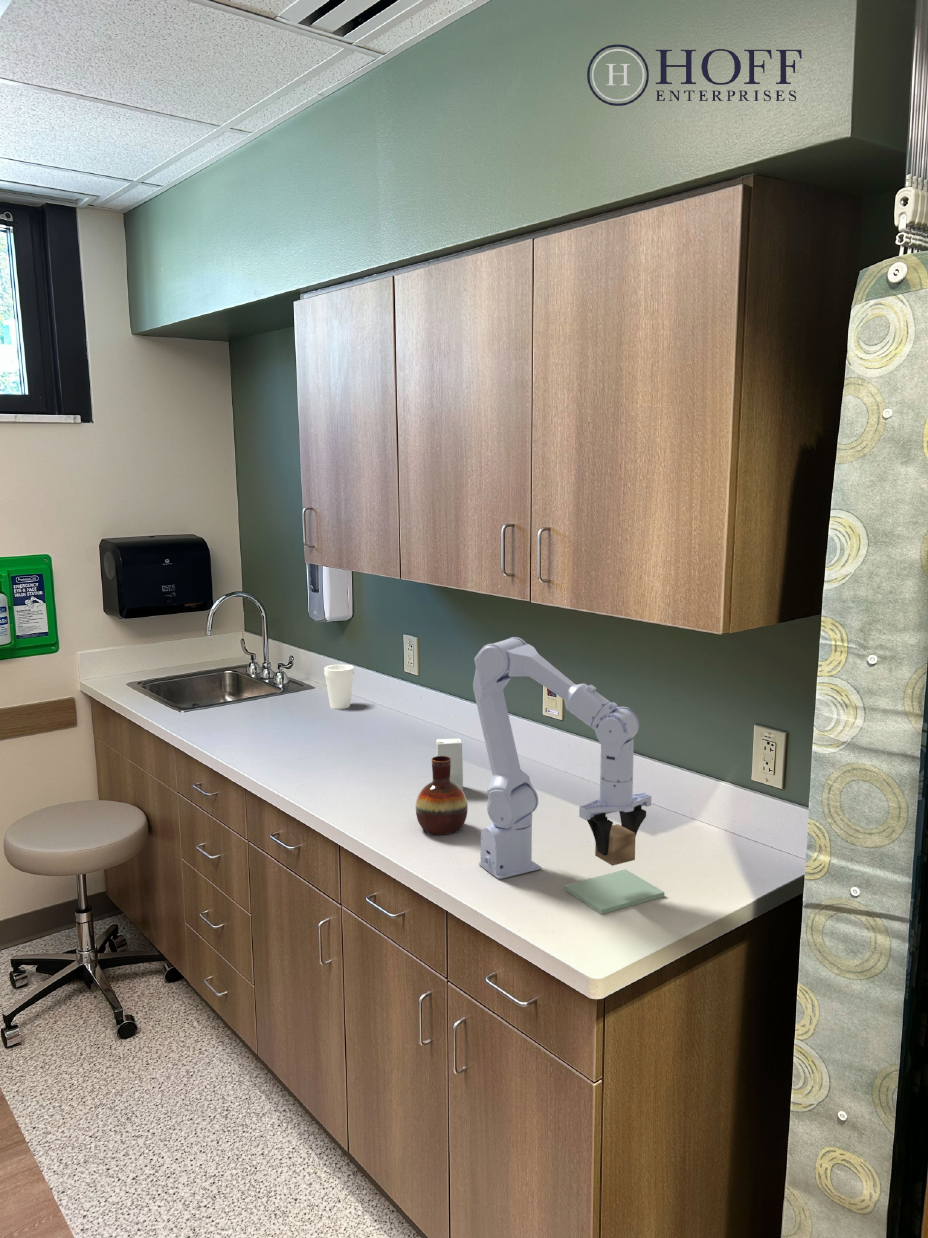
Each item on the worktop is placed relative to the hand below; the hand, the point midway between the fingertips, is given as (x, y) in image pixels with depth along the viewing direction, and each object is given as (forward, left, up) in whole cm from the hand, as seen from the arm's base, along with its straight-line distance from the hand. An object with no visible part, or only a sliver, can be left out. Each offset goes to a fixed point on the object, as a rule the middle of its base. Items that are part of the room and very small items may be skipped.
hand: (614, 850), depth 165 cm
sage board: (0, 0, -8) cm, 8 cm away
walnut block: (0, 0, -1) cm, 1 cm away
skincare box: (0, +64, -8) cm, 64 cm away
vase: (-13, +43, -8) cm, 45 cm away
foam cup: (+6, +152, -8) cm, 152 cm away
